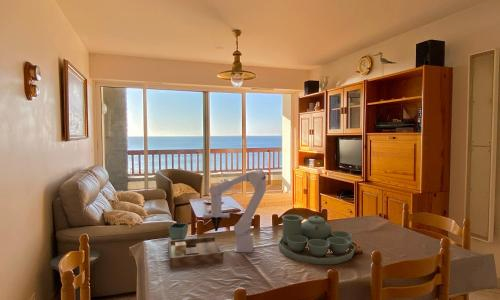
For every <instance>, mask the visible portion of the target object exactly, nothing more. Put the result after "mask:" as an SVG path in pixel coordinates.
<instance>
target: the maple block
mask: <svg viewBox="0 0 500 300" xmlns="http://www.w3.org/2000/svg"><path fill="white" fill-rule="evenodd" d="M175 252H176V254H179V253H186V243H185V242H175Z"/></svg>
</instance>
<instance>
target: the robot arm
mask: <svg viewBox="0 0 500 300" xmlns="http://www.w3.org/2000/svg"><path fill="white" fill-rule="evenodd" d="M266 181H267V176H266V173H265V171H263V170H262V169H256V170H253V171H249V172H245V173H243V174H241V175H238V176H237V177H234V178H233V179H229V178H225V179H223V180H222V181H220V182H219V181H218V182H216V184H212V185H211V186H209V189H208V192H209V194H210V213H203V214H202V219H210V220H211V222H212V224H213V227H214V232H218V231H219V230H218V229H219V226H220V224H221V221H222V218H230V213H229V212H228V213H227V212H226V213H225V212H222V195H223V193H226V192H227V191H230V190H232V189H233V188H234V186H235V185H238V184H241V183H243V182H246V183H248V182H249V184H250V185H251V186H252V187H253V189H254V191H253V194H252V196H251V198H250V200H249V202H248V204H247V206H246V209H245V210H244V212H243V214H242V216H241V218H240V219H238V222H237V223H235V224H234V226H233V230H234V233H235V248H234V250H233V251H234V253H253V249H254V233H251V232H250V229H251V227H252V221H253V218H254V215H255V213H256V211H257V209H258V207H259V206H260V203H261V201H262V199H263V197H264V196H265V193H266V191H267V183H266Z"/></svg>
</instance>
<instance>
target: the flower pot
mask: <svg viewBox="0 0 500 300" xmlns="http://www.w3.org/2000/svg"><path fill="white" fill-rule="evenodd" d="M188 230H189V223H183V222H182V223H181V222H174V223H172V224H171V225H170V226H168V235H169V238H170V240H180V239H186V237H187V234H188Z"/></svg>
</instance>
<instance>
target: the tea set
mask: <svg viewBox="0 0 500 300" xmlns="http://www.w3.org/2000/svg"><path fill="white" fill-rule="evenodd" d="M281 219H282V236H281V237H280V239H279V242H278V249H279V250H280V252H282V253H283V255H284V256H285V257H288V258H290V259H292V260H294V261H298V262H302V263H307V264H314V265H336V264H337V265H338V264H340V263H344V262H347V261H349V259H350V260H352V257H353V256H354V254H355V252H356V246H355V245H354V244H353V243H352V242H351V239H352V237H353V234H352V233H351V232H348V231H344V230H334V231H332V227H331V224H329V223H328V222H327V221H326V220H325V218H324V217H321V216H318V215H314V216H309V217H307V220H305V219H304V218H303V216H302V215H298V214H285V215H282V216H281ZM304 220H305V221H304ZM303 221H304V222H303ZM302 222H303V223H302ZM307 244H308V247H309V250H308V248H305V247H306V245H307ZM348 248H349V250H348V251H347V252H346V250H347V249H348ZM328 249H330V252H331V251H332V252H333V253H327V252H328ZM351 249H353V250H351ZM354 251H355V252H354ZM326 255H327V256H326Z"/></svg>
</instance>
